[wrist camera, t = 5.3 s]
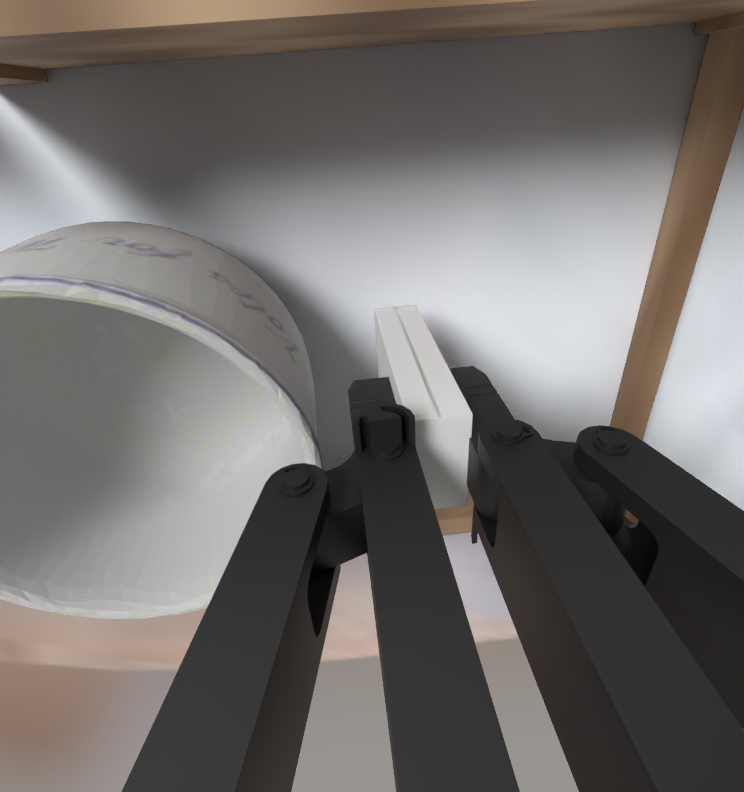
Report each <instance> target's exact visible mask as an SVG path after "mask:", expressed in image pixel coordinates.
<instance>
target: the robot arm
mask: <svg viewBox="0 0 744 792" xmlns="http://www.w3.org/2000/svg"><path fill="white" fill-rule="evenodd" d="M374 321H375V336H376V351H377V366H378V378H373V379H364V380H355V381H354V382H353V384H352V385H351V387H350V389H349V390H348V393H349V403H350V412H351V421H352V430H353V439H354V447H355V450H354V452H353V454H352V456H351V457H350V458H349V459H348V461H346V462H345V463H343V464H342V465H341V466H339V467H336V468H334V469H332V470H329V471H326V472H324V470H323V469H321V468H319V467H318V466H316V465H312V464H307V463H299V464H291V465H288V466H286V467H283V468H280V469H279V470H278V471H276V472H275V473H273V474H272V475H271V476H270V477H269V479H268V480H267V481H266V483H265V485H264V487H263V489H262V491H261V493H260V496H259V498H258V500H257V502H256V504H255V506H254V508H253V511H252V513H251V515H250V517H249V519H248V521H247V524H246V526H245V528H244V530H243V532H242V534H241V536H240V539H239V541H238V543H237V545H236V547H235V549H234V551H233V554H232V556H231V558H230V560H229V562H228V564H227V567H226V569H225V571H224V573H223V575H222V577H221V579H220V582H219V584H218V586H217V588H216V590H215V592H214V594H213V597H212V599H211V601H210V603H209V605H208V607H207V609H206V612H205V614H204V616H203V618H202V620H201V622H200V625H199V627H198V629H197V631H196V633H195V635H194V637H193V640H192V642H191V644H190V646H189V648H188V650H187V652H186V655H185V657H184V659H183V661H182V663H181V665H180V667H179V670H178V672H177V674H176V676H175V678H174V681H173V683H172V685H171V687H170V689H169V691H168V693H167V696H166V698H165V700H164V702H163V704H162V706H161V708H160V711H159V713H158V715H157V717H156V719H155V721H154V723H153V726H152V728H151V730H150V732H149V734H148V736H147V738H146V741H145V743H144V745H143V747H142V749H141V752H140V753H139V756H138V758H137V760H136V762H135V764H134V766H133V769H132V771H131V773H130V775H129V777H128V779H127V781H126V784H125V786H124V788H123V790H122V792H291V790H292V785H293V780H294V776H295V772H296V767H297V763H298V758H299V754H300V749H301V744H302V740H303V736H304V731H305V726H306V722H307V717H308V713H309V709H310V704H311V700H312V695H313V691H314V686H315V682H316V677H317V673H318V668H319V664H320V659H321V655H322V650H323V646H324V641H325V637H326V632H327V628H328V623H329V619H330V614H331V610H332V605H333V601H334V596H335V592H336V587H337V583H338V578H339V574H340V564H342V563H344V562H347V561H349V560H351V559H353V558H356V557H358V556H360V555H362V554H365V553H367V556H368V564H369V572H370V580H371V589H372V597H373V605H374V613H375V621H376V629H377V638H378V646H379V654H380V662H381V670H382V679H383V686H384V695H385V703H386V711H387V719H388V728H389V736H390V743H391V752H392V760H393V769H394V776H395V785H396V792H520V791H519V788H518V785H517V781H516V778H515V775H514V771H513V768H512V765H511V761H510V758H509V755H508V752H507V749H506V745H505V742H504V738H503V735H502V732H501V728H500V725H499V722H498V718H497V715H496V712H495V708H494V705H493V702H492V698H491V695H490V692H489V688H488V685H487V682H486V679H485V675H484V672H483V669H482V665H481V662H480V659H479V655H478V652H477V649H476V646H475V642H474V639H473V635H472V632H471V629H470V626H469V622H468V619H467V616H466V612H465V609H464V606H463V602H462V599H461V596H460V592H459V589H458V586H457V582H456V579H455V576H454V573H453V569H452V566H451V563H450V559H449V556H448V553H447V549H446V546H445V543H444V539H443V536H442V533H441V529H440V526H439V523H438V520H437V516H436V513H435V510H434V509H441V508H448V507H456V506H464V505H467V500H468V489H469V492H470V494H471V497H472V499H473V502H474V505H473V519H472V533H471V537H472V544H473V543H477V533H478V534H479V536H480V539H481V541H482V544H483V546H484V549H485V551H486V554H487V557H488V559H489V562H490V564H491V567H492V569H493V572H494V575H495V577H496V580H497V582H498V585H499V587H500V590H501V593H502V595H503V598H504V600H505V603H506V605H507V608H508V610H509V613H510V616H511V618H512V621H513V623H514V626H515V628H516V631H517V634H518V636H519V639H520V641H521V644H522V646H523V649H524V652H525V654H526V656H527V659H528V662H529V664H530V667H531V669H532V672H533V675H534V677H535V680H536V682H537V685H538V687H539V690H540V692H541V695H542V698H543V700H544V703H545V705H546V708H547V711H548V713H549V716H550V718H551V721H552V723H553V726H554V729H555V731H556V733H557V736H558V739H559V741H560V744H561V746H562V749H563V751H564V754H565V757H566V759H567V762H568V764H569V767H570V770H571V772H572V775H573V777H574V779H575V782H576V785H577V787H578V790H579V792H744V730H743V729H744V511H743V510H741V509H740V508H738V507H737V506H735V505H734V504H733V503H731V502H730V501H728V500H727V499H725V498H724V497H722V496H721V495H720V494H718V493H717V492H715V491H714V490H712V489H711V488H710V487H708V486H707V485H705V484H704V483H702V482H701V481H699V480H698V479H697V478H695V477H694V476H692V475H691V474H689V473H688V472H686V471H685V470H684V469H682V468H681V467H679V466H678V465H676V464H675V463H673V462H672V461H671V460H669V459H668V458H666V457H665V456H663V455H662V454H660V453H659V452H658V451H656V450H655V449H653V448H652V447H650V446H649V445H648V444H646V443H645V442H643V441H642V440H640V439H639V438H637V437H636V436H634V435H632V434H631V433H629V432H627V431H625V430H622V429H618V428H615V427H610V426H593V427H588V428H586V429H584V430H582V431H581V432H580V434H579V435H578V437H577V442H576V443H572V442H561V441H552V440H546V439H542V438H541V436H540V435H539V434H538V432H537V431H536V430H535V429H534V428H533V427H532V426H531V425H528V424H526V423H524V422H522V421H519V420H515V419H514V418H513V416H512V415H511V413H510V412H509V410H508V409H507V407H506V405H505V404H504V402H503V401H502V399H501V398H500V396H499V395H498V394H497V391H496V390H495V388H494V387H493V386H492V384H491V382H490V381H489V379H488V378H487V376H486V374H484V373H483V372H481V371H480V370H478V369H476V368H475V367H473V366H470V367H461V368H452V369H449V368H448V366H447V364H446V362H445V360H444V358H443V356H442V354H441V352H440V350H439V348H438V346H437V345H436V343H435V341H434V339H433V337H432V335H431V333H430V331H429V329H428V327H427V325H426V323H425V321H424V320H423V318H422V316H421V314H420V312H419V310H418V308H417V306H416V305H407V306H398V307H388V308H378V309H374ZM627 510H628V511H629V512H630V513H631V514H632V515H634V516H635V517H636V518H637V519H638V520H639V522H638V524H634V523H633V522H631V521H630V520H629V519H627V518H626V517H625V516H626V513H627ZM742 728H743V729H742Z"/></svg>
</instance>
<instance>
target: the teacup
mask: <svg viewBox="0 0 744 792" xmlns="http://www.w3.org/2000/svg"><path fill="white" fill-rule="evenodd" d="M299 463H307V464H312V465H316V466H318V467H319V468H321V469H323V465H322V458H321V452H320V448H319V444H318V441H317V417H316V400H315V391H314V382H313V375H312V370H311V365H310V360H309V356H308V353H307V349H306V346H305V343H304V341H303V338H302V335H301V333H300V331H299V330H298V328H297V326H296V324H295V322H294V320H293V318H292V316H291V314H290V313H289V311H288V310H287V308H286V307H285V305H284V304H283V302H282V301H281V300H280V298H279V297H278V296H277V295H276V293H275V292H274V291H273V290H272V289H271V288H270V287H269V286H268V285H267V284H266V283H265V282H264V281H263V280H262V279H261V278H260V277H259V276H258V275H257V274H256V273H255V272H253V271H252V270H251V269H250V268H248V267H247V266H246V265H245V264H243V263H242V262H241V261H239V260H238V259H237V258H235V257H233V256H232V255H230V254H228V253H227V252H225V251H223V250H222V249H220V248H218V247H216V246H214V245H212V244H210V243H208V242H206V241H204V240H202V239H199V238H196V237H194V236H191V235H189V234H186V233H183V232H179V231H176V230H173V229H169V228H165V227H160V226H155V225H150V224H142V223H134V222H91V223H85V224H79V225H74V226H68V227H63V228H60V229H57V230H54V231H51V232H47V233H44V234H41V235H38V236H35V237H33V238H30V239H28V240H26V241H24V242H22V243H19V244H17V245H15V246H13V247H10V248H8V249H6V250H4V251H3V252H1V253H0V599H3V600H6V601H9V602H12V603H15V604H19V605H22V606H26V607H29V608H33V609H37V610H41V611H51V612H55V613H59V614H65V615H72V616H80V617H92V618H106V619H144V618H156V617H165V616H172V615H178V614H183V613H187V612H192V611H197V610H201V609H205V608H207V607H208V605H209V603H210V601H211V599H212V597H213V594H214V592H215V590H216V588H217V586H218V584H219V582H220V579H221V577H222V575H223V573H224V571H225V569H226V567H227V564H228V562H229V560H230V558H231V556H232V554H233V551H234V549H235V547H236V545H237V543H238V541H239V539H240V536H241V534H242V532H243V530H244V528H245V526H246V524H247V521H248V519H249V517H250V515H251V513H252V511H253V508H254V506H255V504H256V502H257V500H258V498H259V496H260V493H261V491H262V489H263V487H264V485H265V483H266V481H267V480H268V479H269V477H270V476H271V475H272V474H273V473H275V472H276V471H278V470H279V469H280V468H283V467H286V466H288V465H291V464H299Z"/></svg>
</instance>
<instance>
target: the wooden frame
mask: <svg viewBox="0 0 744 792" xmlns="http://www.w3.org/2000/svg"><path fill="white" fill-rule="evenodd" d="M684 23H696V26H695V30H694V35H704V34H709V37H708V41H707V45H706V49H705V53H704V57H703V61H702V65H701V69H700V73H699V76H698V80H697V84H696V88H695V92H694V96H693V100H692V104H691V108H690V112H689V116H688V120H687V124H686V128H685V132H684V136H683V140H682V144H681V147H680V151H679V155H678V159H677V163H676V167H675V171H674V175H673V179H672V183H671V187H670V191H669V195H668V199H667V203H666V207H665V211H664V215H663V219H662V222H661V226H660V230H659V234H658V238H657V242H656V246H655V250H654V254H653V258H652V262H651V266H650V270H649V274H648V278H647V282H646V286H645V290H644V293H643V297H642V301H641V305H640V309H639V313H638V317H637V321H636V325H635V329H634V333H633V337H632V341H631V345H630V349H629V353H628V357H627V361H626V364H625V368H624V372H623V376H622V380H621V384H620V388H619V392H618V396H617V400H616V404H615V408H614V412H613V416H612V420H611V424H610V427H615V428H618V429H622V430H625V431H627V432H629V433H631V434H632V435H634V436H636V437H637V438H639V439H640V440H642V439H643V435H644V432H645V429H646V425H647V422H648V419H649V416H650V412H651V409H652V406H653V402H654V399H655V396H656V393H657V389H658V386H659V383H660V379H661V376H662V373H663V370H664V366H665V363H666V360H667V356H668V353H669V350H670V347H671V343H672V340H673V337H674V333H675V330H676V327H677V324H678V320H679V317H680V314H681V310H682V307H683V304H684V301H685V297H686V294H687V291H688V288H689V284H690V281H691V278H692V274H693V271H694V268H695V265H696V261H697V258H698V255H699V251H700V248H701V245H702V242H703V238H704V235H705V232H706V228H707V225H708V222H709V219H710V215H711V212H712V209H713V205H714V202H715V199H716V196H717V192H718V189H719V186H720V182H721V179H722V176H723V173H724V169H725V166H726V163H727V159H728V156H729V153H730V150H731V146H732V143H733V140H734V136H735V133H736V130H737V127H738V123H739V120H740V117H741V113H742V110H743V107H744V0H0V85H14V84H28V83H42V82H48V80H47V77H46V75H45V72H44V69H51V68H65V67H79V66H93V65H107V64H121V63H136V62H150V61H164V60H178V59H192V58H206V57H220V56H234V55H248V54H262V53H276V52H290V51H304V50H318V49H332V48H346V47H361V46H375V45H389V44H403V43H417V42H431V41H445V40H459V39H473V38H487V37H501V36H515V35H529V34H543V33H557V32H572V31H586V30H600V29H614V28H628V27H642V26H656V25H670V24H684ZM473 505H474V502H473V499H472V497H471V494H470V492H469V489H468V500H467V505H464V506H456V507H448V508H441V509H434V510H435V513H436V516H437V520H438V523H439V526H440V529H441V533H442V536H443V535H451V534H459V533H467V532H472V519H473ZM625 517H626V518H627V519H629V520H630V521H631V522H633V523H634V524H638V522H639V520H638V519H637V518H636V517H635V516H634V515H632V514H631V513H630V512H629V511H628V510H627V513H626V516H625Z"/></svg>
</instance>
